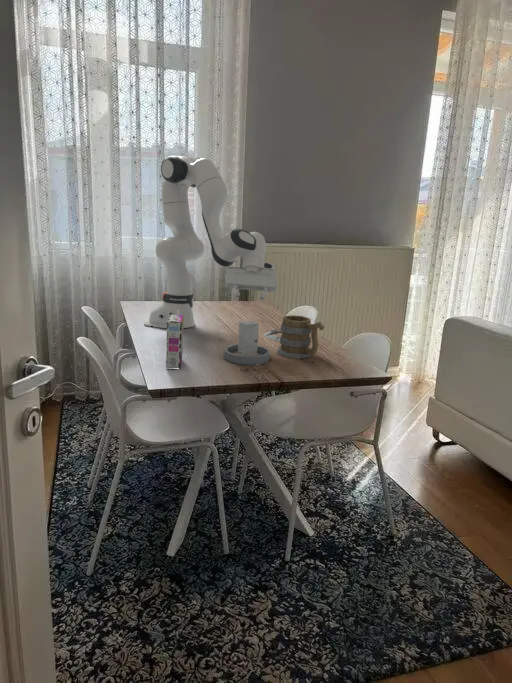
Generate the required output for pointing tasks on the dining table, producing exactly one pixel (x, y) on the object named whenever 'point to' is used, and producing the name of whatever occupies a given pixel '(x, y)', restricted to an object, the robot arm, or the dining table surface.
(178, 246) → the robot arm
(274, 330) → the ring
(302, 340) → the tankard
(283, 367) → the dining table surface
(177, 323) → the candy bar box
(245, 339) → the grey upright block
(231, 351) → the round tray
